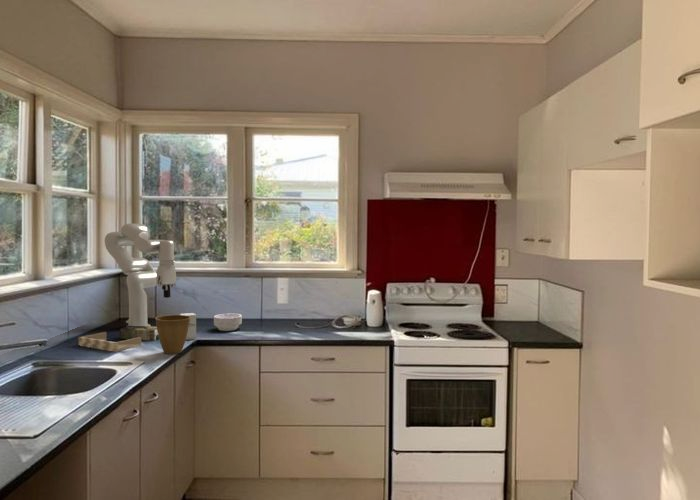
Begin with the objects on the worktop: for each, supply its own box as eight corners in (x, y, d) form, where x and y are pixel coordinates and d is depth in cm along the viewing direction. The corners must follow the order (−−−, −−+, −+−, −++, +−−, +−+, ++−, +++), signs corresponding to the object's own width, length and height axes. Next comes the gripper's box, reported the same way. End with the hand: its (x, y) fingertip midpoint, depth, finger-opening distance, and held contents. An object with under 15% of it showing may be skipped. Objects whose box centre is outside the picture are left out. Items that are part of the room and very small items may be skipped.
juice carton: (166, 336, 264) (165, 325, 264) (157, 341, 254) (156, 329, 254) (129, 336, 266) (128, 324, 266) (118, 340, 256) (118, 328, 256)
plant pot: (165, 358, 220) (165, 321, 219) (149, 352, 230) (149, 317, 229) (196, 352, 230) (196, 317, 230) (180, 347, 241) (180, 313, 240)
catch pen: (78, 345, 243) (78, 337, 243) (105, 339, 256) (104, 332, 256) (115, 351, 231) (115, 343, 231) (141, 345, 243) (141, 337, 243)
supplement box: (181, 340, 254) (181, 315, 254) (179, 337, 261) (178, 313, 260) (196, 339, 258) (196, 314, 257) (193, 336, 264) (193, 312, 264)
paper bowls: (228, 333, 273) (228, 318, 272) (207, 330, 280) (207, 316, 280) (247, 328, 286) (247, 314, 286) (227, 326, 293) (227, 312, 293)
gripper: (172, 262, 281) (172, 295, 282) (150, 263, 268) (150, 298, 269) (182, 262, 278) (182, 296, 278) (160, 264, 264) (160, 299, 265)
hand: (167, 297), depth 274 cm, fingers closed
